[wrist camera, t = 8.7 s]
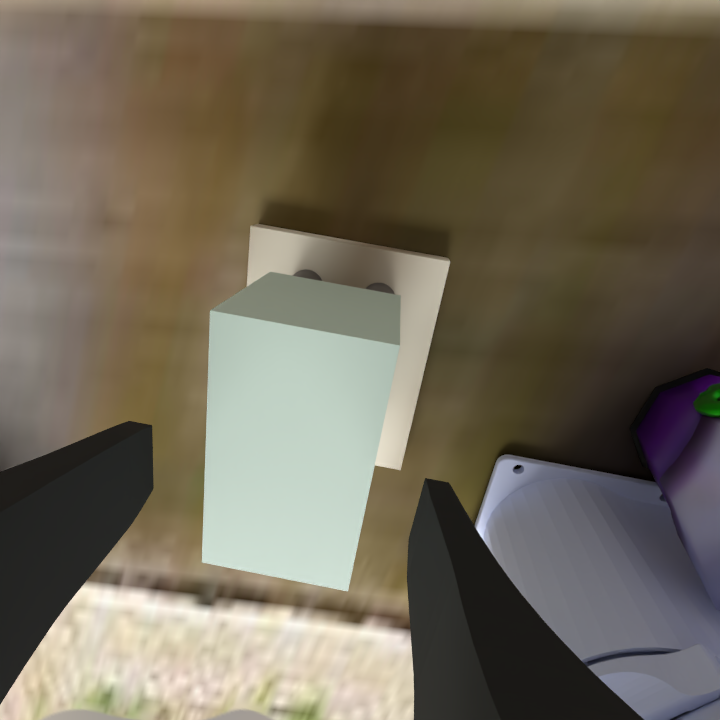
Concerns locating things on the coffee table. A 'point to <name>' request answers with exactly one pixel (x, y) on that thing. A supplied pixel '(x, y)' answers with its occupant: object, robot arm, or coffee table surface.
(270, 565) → the shelf block
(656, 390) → the potion bottle
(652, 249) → the coffee table surface
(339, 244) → the peg stand
